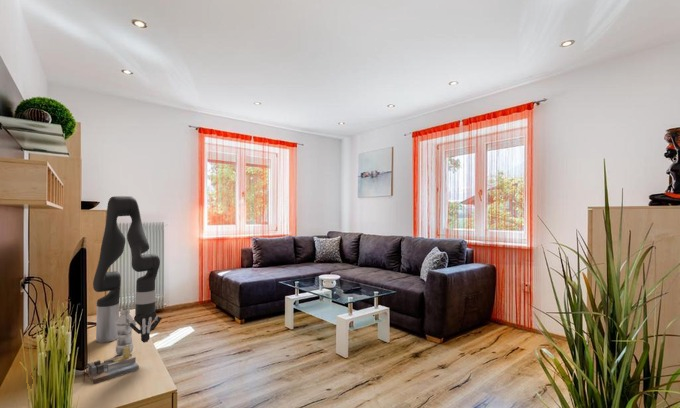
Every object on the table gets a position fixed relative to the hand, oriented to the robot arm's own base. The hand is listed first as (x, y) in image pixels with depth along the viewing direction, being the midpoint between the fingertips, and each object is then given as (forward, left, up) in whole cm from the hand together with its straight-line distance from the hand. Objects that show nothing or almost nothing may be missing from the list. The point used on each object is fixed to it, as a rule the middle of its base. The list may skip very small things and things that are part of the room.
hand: (145, 341), depth 144 cm
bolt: (0, -8, -6) cm, 11 cm away
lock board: (0, -12, -8) cm, 14 cm away
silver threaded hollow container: (-14, -4, -8) cm, 16 cm away
